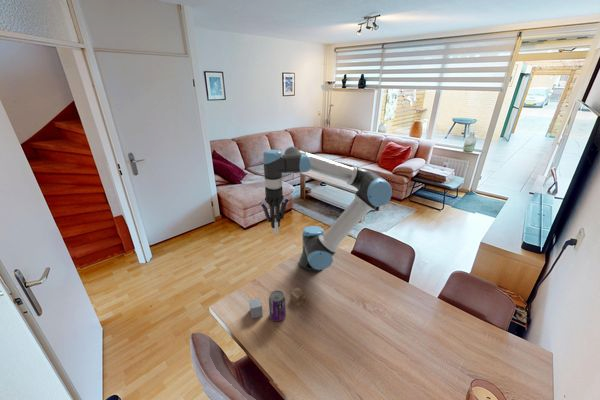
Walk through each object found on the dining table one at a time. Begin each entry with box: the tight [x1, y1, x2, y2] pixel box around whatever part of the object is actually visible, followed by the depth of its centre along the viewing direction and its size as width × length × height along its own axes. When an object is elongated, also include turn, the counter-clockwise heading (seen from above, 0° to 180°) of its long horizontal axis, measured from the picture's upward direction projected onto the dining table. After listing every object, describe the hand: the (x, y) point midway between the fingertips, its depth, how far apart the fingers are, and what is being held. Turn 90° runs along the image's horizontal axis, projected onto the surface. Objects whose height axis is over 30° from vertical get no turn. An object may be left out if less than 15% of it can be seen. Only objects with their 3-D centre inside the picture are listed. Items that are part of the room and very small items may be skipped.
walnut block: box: [289, 287, 306, 307], centre depth 121 cm, size 5×5×5 cm
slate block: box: [248, 297, 264, 319], centre depth 114 cm, size 5×5×6 cm
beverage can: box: [268, 289, 287, 322], centre depth 111 cm, size 7×7×12 cm
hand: (275, 233), depth 120 cm, fingers closed
